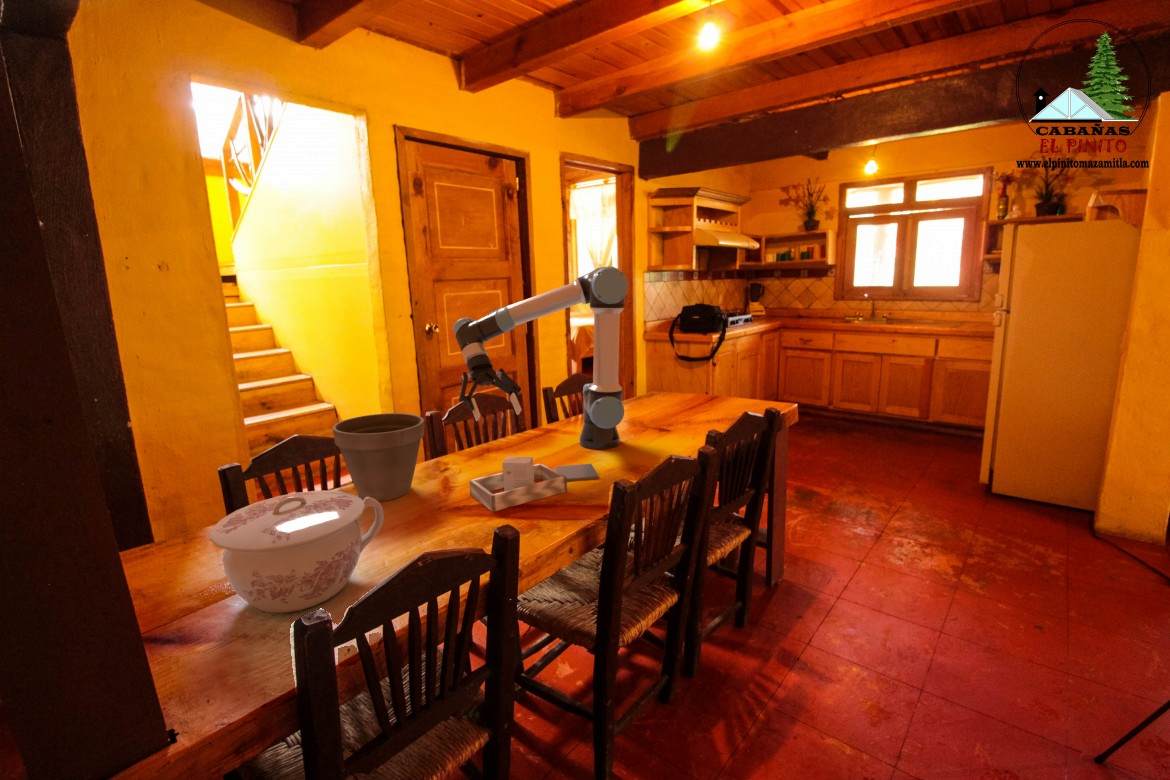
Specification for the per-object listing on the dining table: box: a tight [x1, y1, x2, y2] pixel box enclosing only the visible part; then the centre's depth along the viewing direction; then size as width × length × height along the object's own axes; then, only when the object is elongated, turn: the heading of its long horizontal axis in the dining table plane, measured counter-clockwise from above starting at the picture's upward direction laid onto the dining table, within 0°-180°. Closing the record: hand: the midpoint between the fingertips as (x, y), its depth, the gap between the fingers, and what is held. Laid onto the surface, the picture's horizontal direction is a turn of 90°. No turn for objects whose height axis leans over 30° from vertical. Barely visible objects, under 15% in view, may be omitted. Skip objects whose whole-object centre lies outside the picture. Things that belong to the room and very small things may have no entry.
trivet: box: [554, 463, 599, 482], centre depth 178 cm, size 12×12×1 cm
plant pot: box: [332, 412, 425, 502], centre depth 164 cm, size 25×25×22 cm
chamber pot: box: [208, 490, 385, 614], centre depth 111 cm, size 28×28×21 cm
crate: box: [468, 463, 568, 513], centre depth 163 cm, size 24×15×4 cm, turn 125°
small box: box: [502, 456, 535, 492], centre depth 162 cm, size 8×6×10 cm
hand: (499, 415), depth 169 cm, fingers open, 13 cm apart
